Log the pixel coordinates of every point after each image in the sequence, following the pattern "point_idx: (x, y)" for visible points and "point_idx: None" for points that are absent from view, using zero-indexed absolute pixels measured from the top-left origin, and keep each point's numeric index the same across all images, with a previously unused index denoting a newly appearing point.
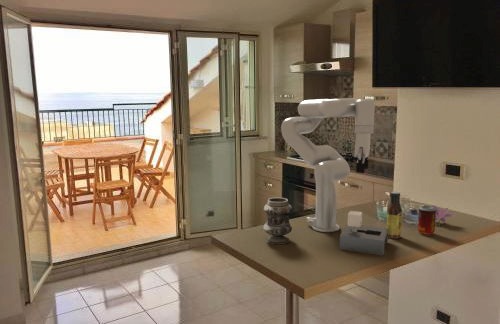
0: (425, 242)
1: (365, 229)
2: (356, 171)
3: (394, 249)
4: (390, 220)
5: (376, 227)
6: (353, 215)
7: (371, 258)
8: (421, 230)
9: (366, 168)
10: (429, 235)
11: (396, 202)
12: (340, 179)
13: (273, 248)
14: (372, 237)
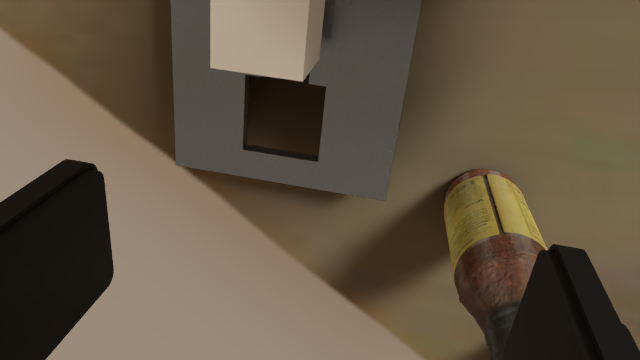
0: (429, 316)
1: (332, 74)
2: (63, 166)
3: (299, 187)
4: (460, 231)
5: (389, 139)
6: (212, 13)
7: (152, 85)
8: None
9: (506, 346)
10: None
11: (485, 338)
12: None
13: None
14: (202, 111)
